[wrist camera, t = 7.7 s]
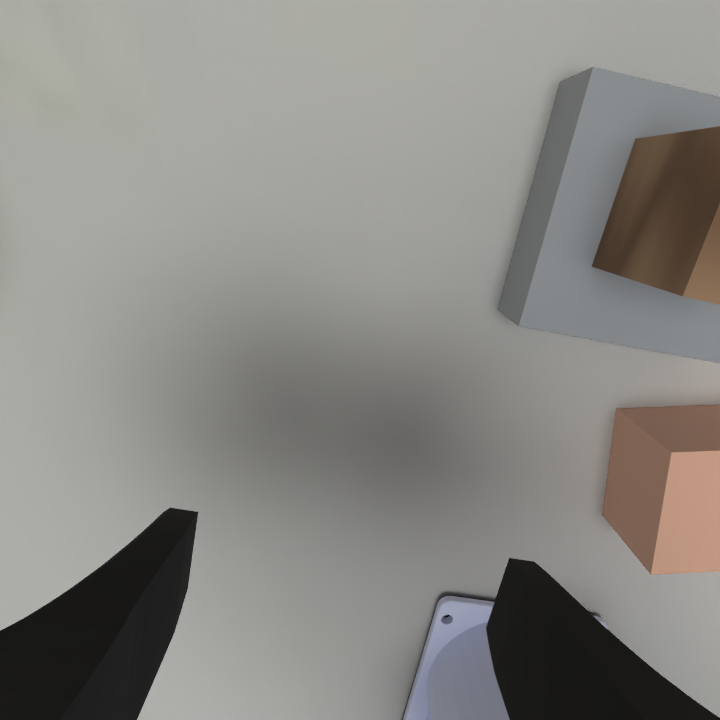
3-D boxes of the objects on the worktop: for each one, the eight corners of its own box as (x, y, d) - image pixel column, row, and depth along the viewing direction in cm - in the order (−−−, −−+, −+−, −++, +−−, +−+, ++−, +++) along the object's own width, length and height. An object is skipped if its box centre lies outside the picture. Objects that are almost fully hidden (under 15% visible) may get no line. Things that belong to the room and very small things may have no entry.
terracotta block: (712, 508, 24) (782, 568, 21) (600, 512, 24) (650, 574, 20) (733, 402, 23) (813, 446, 19) (614, 407, 23) (671, 452, 19)
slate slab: (684, 342, 22) (735, 366, 19) (494, 307, 22) (518, 326, 19) (764, 133, 20) (835, 124, 17) (554, 84, 19) (593, 67, 16)
